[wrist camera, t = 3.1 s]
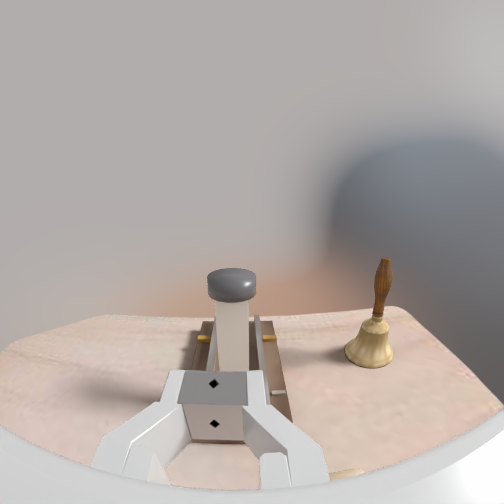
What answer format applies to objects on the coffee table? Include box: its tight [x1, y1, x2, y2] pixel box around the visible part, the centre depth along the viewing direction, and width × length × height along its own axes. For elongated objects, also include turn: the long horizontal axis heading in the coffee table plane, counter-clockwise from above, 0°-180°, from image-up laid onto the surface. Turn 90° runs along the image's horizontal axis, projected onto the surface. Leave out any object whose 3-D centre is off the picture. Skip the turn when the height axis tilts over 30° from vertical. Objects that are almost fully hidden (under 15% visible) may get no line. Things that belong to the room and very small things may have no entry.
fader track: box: [191, 315, 293, 444], centre depth 35 cm, size 12×24×4 cm, turn 2°
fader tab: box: [207, 268, 256, 382], centre depth 27 cm, size 5×4×15 cm
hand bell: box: [345, 257, 393, 368], centre depth 37 cm, size 8×8×16 cm
